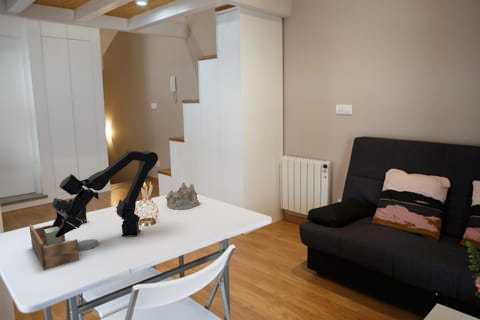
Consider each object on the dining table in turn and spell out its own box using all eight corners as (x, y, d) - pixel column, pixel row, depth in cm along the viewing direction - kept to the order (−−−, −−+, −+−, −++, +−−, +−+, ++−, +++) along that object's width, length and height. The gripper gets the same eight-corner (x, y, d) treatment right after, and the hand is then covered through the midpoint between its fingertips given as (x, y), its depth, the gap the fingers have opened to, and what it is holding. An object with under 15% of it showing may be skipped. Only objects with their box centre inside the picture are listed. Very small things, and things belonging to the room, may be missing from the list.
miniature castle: (203, 204, 206) (200, 178, 203) (180, 213, 194) (176, 185, 192) (186, 201, 216) (183, 176, 214) (163, 209, 205) (159, 182, 202)
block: (60, 249, 150) (57, 226, 148) (63, 253, 146) (60, 230, 145) (46, 253, 147) (43, 229, 146) (49, 257, 143) (46, 233, 142)
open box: (64, 239, 160) (62, 218, 159) (79, 259, 141) (76, 234, 139) (32, 247, 153) (29, 224, 151) (43, 269, 133) (40, 243, 132)
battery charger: (73, 226, 177) (70, 203, 175) (71, 224, 180) (69, 201, 178) (88, 223, 181) (86, 200, 179) (86, 220, 184) (84, 198, 182)
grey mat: (102, 240, 159) (102, 239, 159) (93, 250, 149) (92, 249, 149) (80, 240, 159) (79, 239, 159) (68, 250, 149) (68, 249, 149)
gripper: (58, 186, 153) (31, 217, 149) (69, 195, 138) (40, 230, 134) (80, 200, 159) (55, 231, 155) (93, 211, 145) (65, 244, 140)
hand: (53, 233), depth 146 cm, fingers open, 9 cm apart
